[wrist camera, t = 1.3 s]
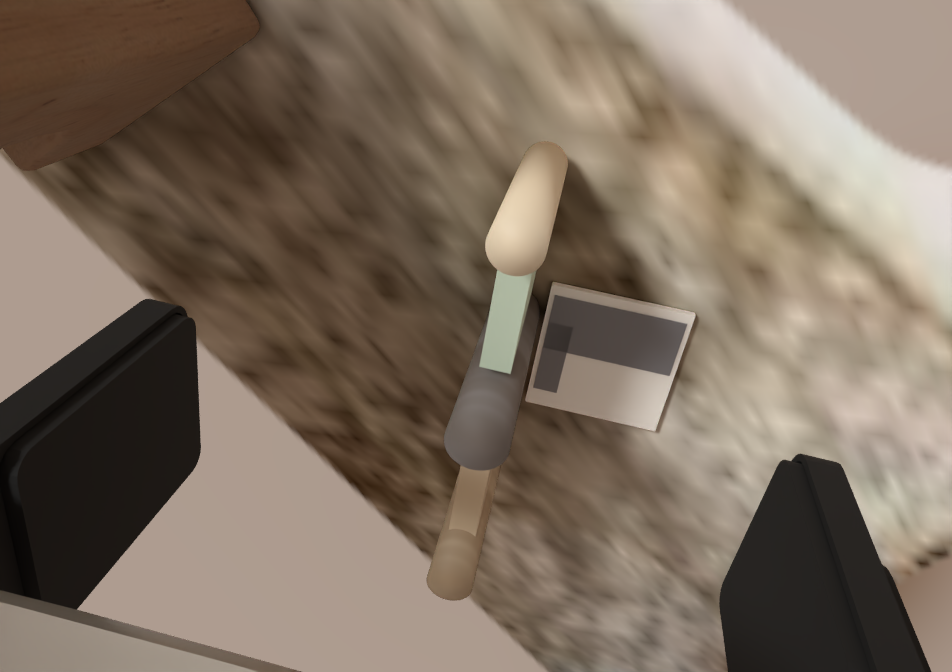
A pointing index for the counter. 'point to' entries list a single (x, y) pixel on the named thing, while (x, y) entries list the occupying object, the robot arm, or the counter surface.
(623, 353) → the card
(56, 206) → the counter surface
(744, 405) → the counter surface
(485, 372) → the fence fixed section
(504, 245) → the fence swing section
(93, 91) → the wooden block
